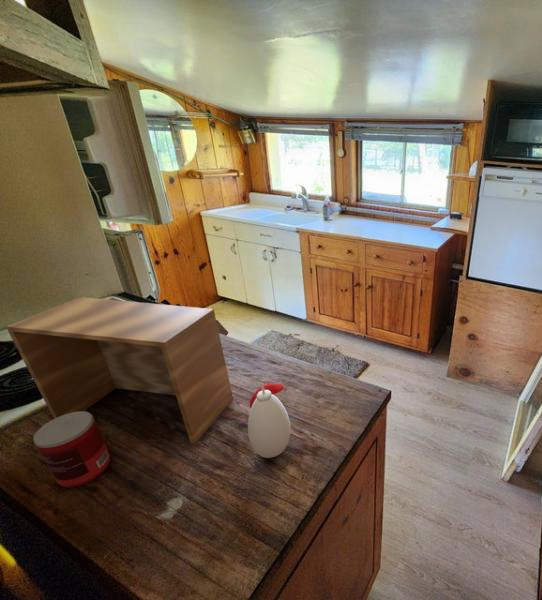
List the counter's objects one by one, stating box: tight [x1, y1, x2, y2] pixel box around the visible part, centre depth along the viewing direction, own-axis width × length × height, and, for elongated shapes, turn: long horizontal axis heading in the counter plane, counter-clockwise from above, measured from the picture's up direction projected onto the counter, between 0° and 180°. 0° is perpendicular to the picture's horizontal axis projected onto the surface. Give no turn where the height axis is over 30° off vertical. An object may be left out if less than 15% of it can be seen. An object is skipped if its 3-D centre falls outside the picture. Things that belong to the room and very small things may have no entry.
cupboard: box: [5, 296, 234, 445], centre depth 71 cm, size 32×14×25 cm, turn 84°
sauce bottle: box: [247, 382, 291, 459], centre depth 64 cm, size 8×8×18 cm
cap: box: [249, 382, 285, 409], centre depth 77 cm, size 8×6×6 cm
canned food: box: [32, 411, 111, 489], centre depth 60 cm, size 8×8×11 cm
